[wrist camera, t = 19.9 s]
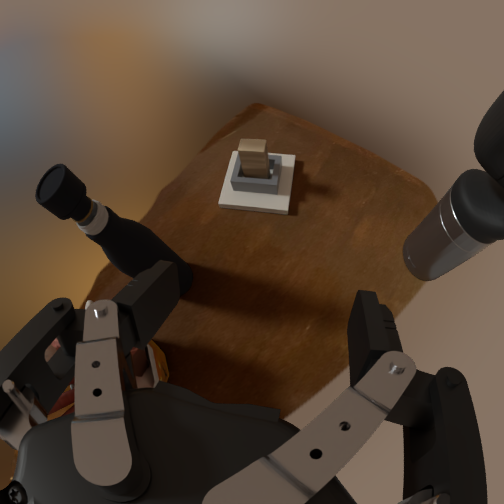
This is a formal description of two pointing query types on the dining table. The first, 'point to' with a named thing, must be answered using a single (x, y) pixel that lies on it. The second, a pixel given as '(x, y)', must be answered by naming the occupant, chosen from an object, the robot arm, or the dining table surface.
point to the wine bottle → (107, 226)
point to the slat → (254, 158)
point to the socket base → (259, 186)
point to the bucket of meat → (145, 366)
